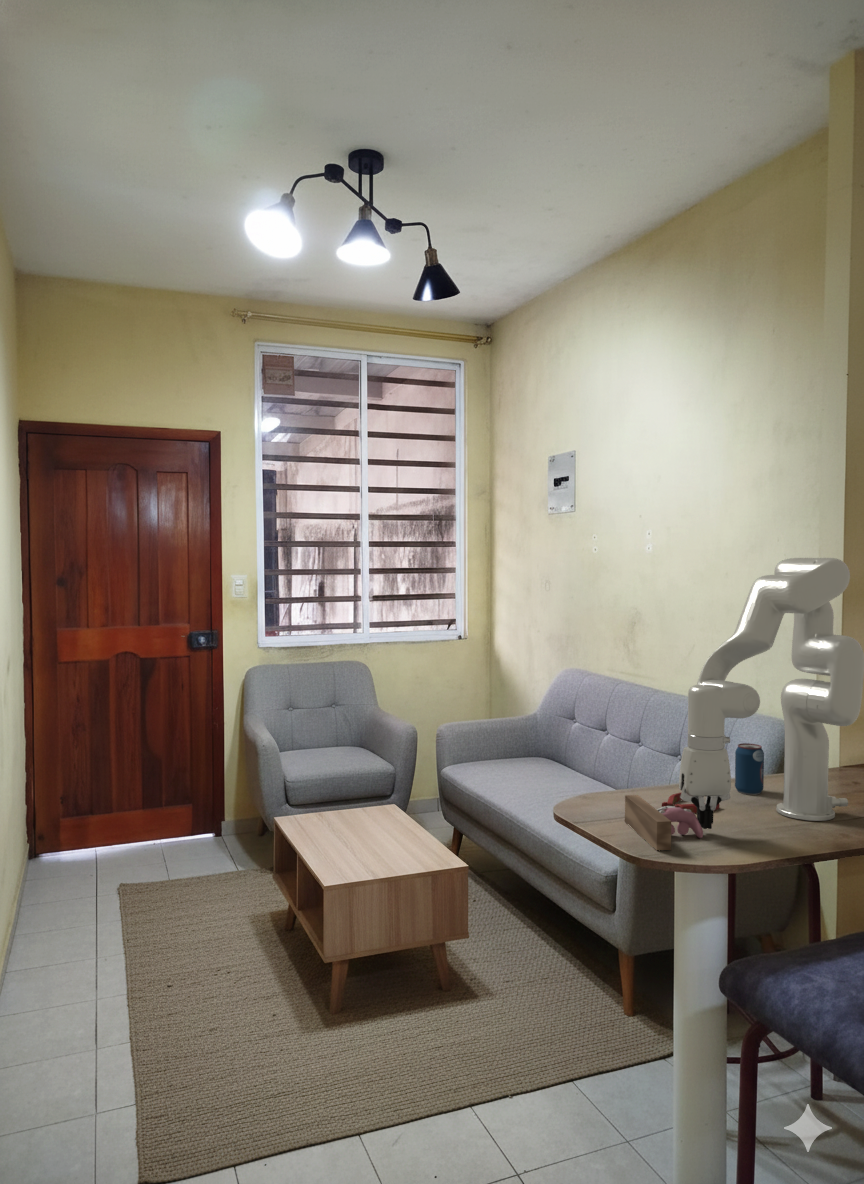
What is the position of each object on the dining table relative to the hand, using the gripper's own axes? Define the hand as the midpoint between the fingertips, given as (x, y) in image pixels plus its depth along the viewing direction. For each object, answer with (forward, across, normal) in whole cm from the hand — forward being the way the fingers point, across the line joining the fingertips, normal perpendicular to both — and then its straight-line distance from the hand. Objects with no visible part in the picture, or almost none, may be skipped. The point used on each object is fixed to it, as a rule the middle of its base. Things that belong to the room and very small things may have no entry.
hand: (705, 826), depth 185 cm
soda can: (+2, -26, -33) cm, 42 cm away
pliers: (+2, -1, -19) cm, 19 cm away
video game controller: (+2, +7, +1) cm, 7 cm away
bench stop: (+1, +13, 0) cm, 13 cm away
